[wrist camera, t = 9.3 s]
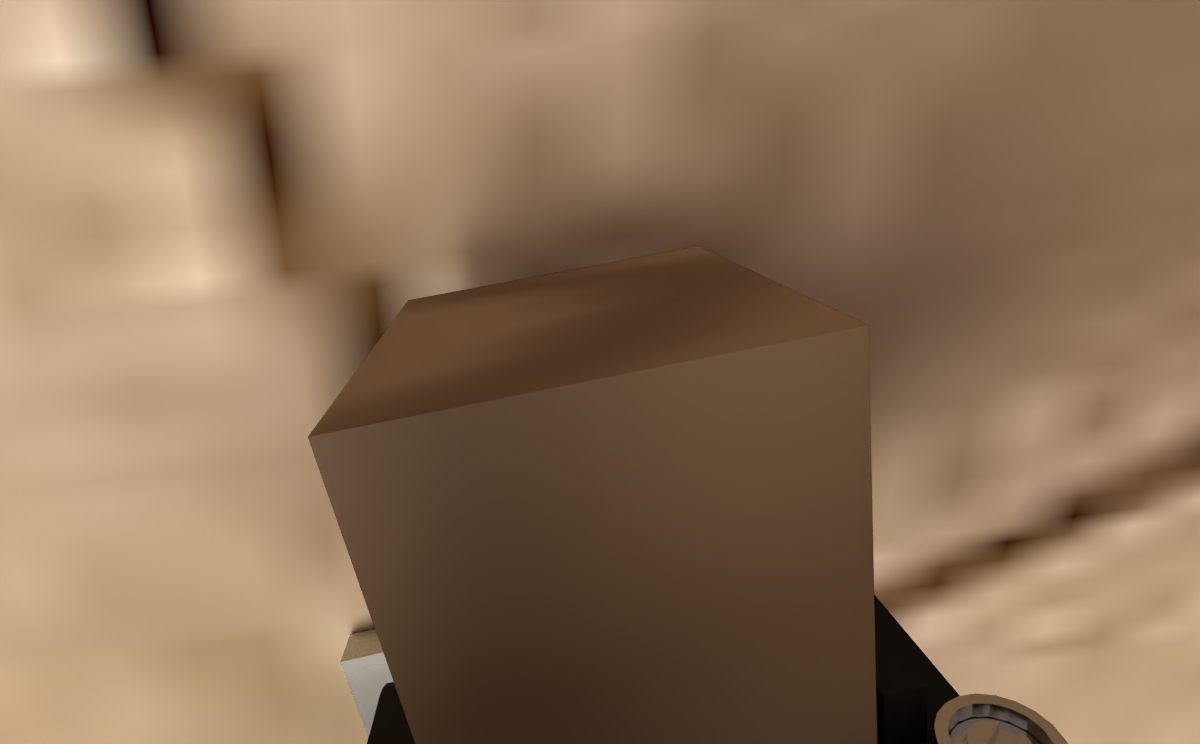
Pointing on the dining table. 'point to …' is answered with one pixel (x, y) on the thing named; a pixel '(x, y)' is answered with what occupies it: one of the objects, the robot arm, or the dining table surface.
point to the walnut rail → (616, 509)
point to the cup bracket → (365, 673)
